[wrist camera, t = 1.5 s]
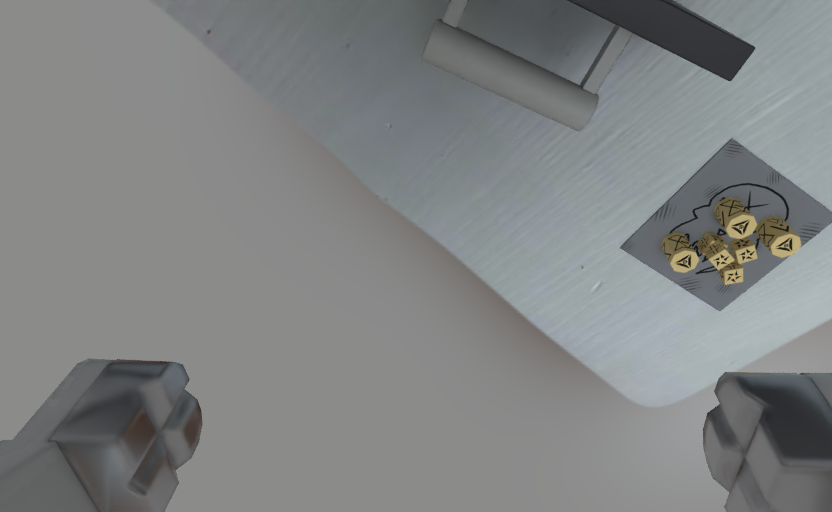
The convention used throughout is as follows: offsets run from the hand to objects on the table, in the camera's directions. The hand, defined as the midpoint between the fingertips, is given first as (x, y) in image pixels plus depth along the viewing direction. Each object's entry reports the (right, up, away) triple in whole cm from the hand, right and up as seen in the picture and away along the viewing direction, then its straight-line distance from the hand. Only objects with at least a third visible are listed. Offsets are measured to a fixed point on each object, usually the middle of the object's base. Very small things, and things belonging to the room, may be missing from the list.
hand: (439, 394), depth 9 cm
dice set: (+17, +4, +23) cm, 29 cm away
